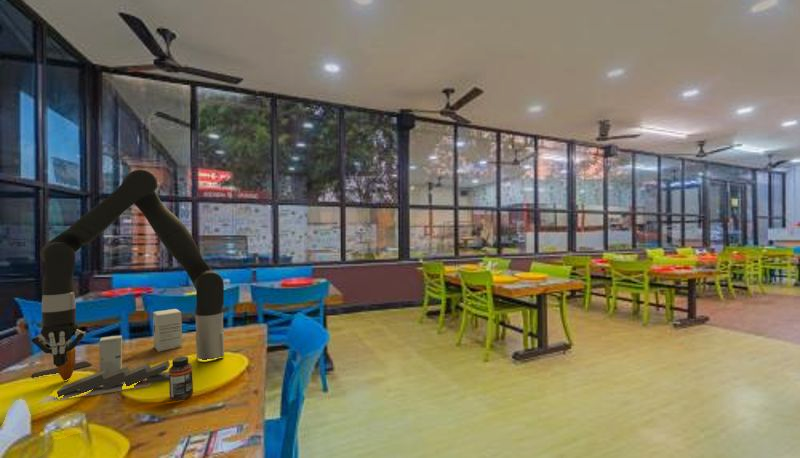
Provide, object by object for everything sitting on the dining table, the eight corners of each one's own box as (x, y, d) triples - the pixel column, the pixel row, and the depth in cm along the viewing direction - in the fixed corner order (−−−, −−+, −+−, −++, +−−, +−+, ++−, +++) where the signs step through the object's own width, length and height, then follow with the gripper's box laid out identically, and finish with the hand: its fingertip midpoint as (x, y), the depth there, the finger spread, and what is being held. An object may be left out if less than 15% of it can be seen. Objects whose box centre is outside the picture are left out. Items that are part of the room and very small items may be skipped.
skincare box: (99, 376, 127) (98, 340, 127) (100, 372, 131) (99, 337, 131) (121, 372, 130) (121, 337, 130) (122, 368, 134) (121, 334, 134)
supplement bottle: (176, 392, 113) (175, 355, 113) (196, 391, 113) (195, 354, 113) (165, 402, 107) (164, 362, 107) (187, 400, 107) (186, 361, 107)
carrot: (53, 386, 119) (52, 339, 119) (59, 380, 124) (58, 335, 124) (73, 383, 122) (72, 337, 122) (78, 377, 126) (77, 333, 126)
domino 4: (149, 377, 124) (189, 375, 128) (146, 383, 119) (187, 381, 123) (150, 372, 124) (189, 370, 128) (146, 378, 119) (187, 376, 123)
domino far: (66, 390, 115) (109, 373, 119) (58, 396, 111) (103, 379, 115) (64, 385, 115) (107, 368, 119) (56, 392, 110) (101, 374, 115)
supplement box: (153, 347, 158) (152, 311, 158) (177, 342, 164) (176, 308, 164) (157, 352, 151) (156, 315, 151) (182, 346, 157) (181, 311, 157)
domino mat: (156, 375, 126) (156, 374, 126) (149, 387, 117) (149, 385, 117) (54, 390, 116) (54, 389, 116) (37, 404, 107) (37, 403, 107)
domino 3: (131, 380, 122) (170, 364, 126) (126, 386, 117) (167, 369, 121) (129, 376, 121) (168, 360, 125) (124, 382, 117) (165, 365, 121)
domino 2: (110, 383, 119) (150, 367, 124) (105, 390, 115) (146, 372, 119) (108, 379, 119) (148, 363, 123) (103, 385, 115) (145, 368, 119)
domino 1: (87, 387, 117) (129, 370, 121) (81, 393, 113) (125, 376, 117) (85, 382, 117) (127, 366, 121) (79, 388, 112) (123, 371, 117)
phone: (92, 364, 138) (37, 378, 125) (92, 366, 138) (37, 380, 125) (85, 360, 142) (30, 373, 129) (85, 363, 142) (30, 376, 129)
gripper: (23, 313, 107) (25, 373, 107) (81, 308, 112) (82, 366, 112) (37, 308, 114) (38, 365, 114) (91, 303, 119) (92, 358, 119)
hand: (60, 365), depth 113 cm, fingers closed
